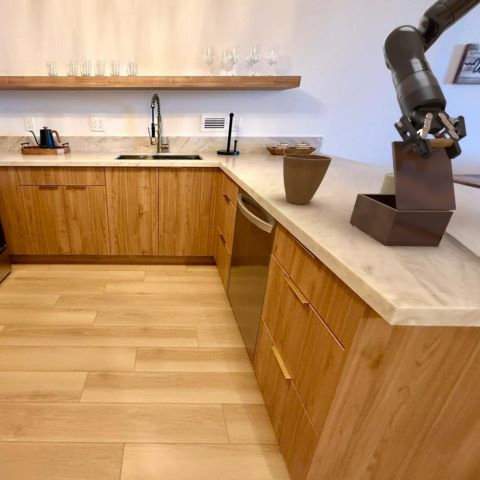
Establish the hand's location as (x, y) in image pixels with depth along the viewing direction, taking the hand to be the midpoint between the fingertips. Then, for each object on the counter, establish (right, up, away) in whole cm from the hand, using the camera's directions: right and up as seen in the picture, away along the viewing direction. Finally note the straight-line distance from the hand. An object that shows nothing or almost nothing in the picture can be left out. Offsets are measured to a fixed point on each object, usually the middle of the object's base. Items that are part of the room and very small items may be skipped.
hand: (441, 156), depth 62 cm
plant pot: (-11, -4, +42) cm, 43 cm away
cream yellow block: (+15, -9, +32) cm, 36 cm away
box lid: (0, -3, +5) cm, 6 cm away
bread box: (0, -16, +14) cm, 22 cm away
